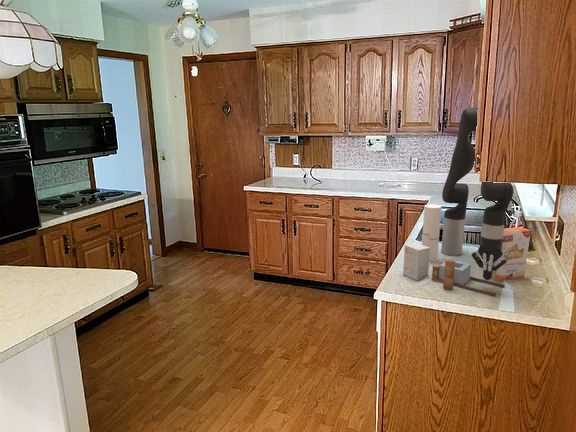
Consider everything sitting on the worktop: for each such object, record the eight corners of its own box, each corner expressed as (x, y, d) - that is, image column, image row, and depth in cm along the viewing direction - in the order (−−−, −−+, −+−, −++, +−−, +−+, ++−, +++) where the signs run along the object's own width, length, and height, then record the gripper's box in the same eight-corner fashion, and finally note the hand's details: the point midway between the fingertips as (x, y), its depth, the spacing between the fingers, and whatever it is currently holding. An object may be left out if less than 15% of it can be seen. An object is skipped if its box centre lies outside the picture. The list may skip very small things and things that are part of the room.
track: (442, 274, 185) (444, 258, 183) (504, 290, 170) (506, 272, 168) (431, 282, 177) (432, 266, 175) (494, 299, 162) (497, 281, 160)
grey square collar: (447, 274, 183) (448, 259, 181) (469, 279, 177) (471, 264, 175) (438, 280, 176) (439, 265, 175) (460, 286, 170) (462, 270, 169)
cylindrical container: (424, 256, 208) (428, 203, 201) (439, 259, 203) (444, 205, 197) (418, 260, 202) (421, 206, 196) (433, 263, 198) (437, 208, 192)
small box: (428, 277, 182) (430, 247, 179) (416, 281, 179) (418, 250, 176) (413, 271, 189) (415, 242, 186) (402, 274, 186) (404, 244, 183)
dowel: (445, 288, 172) (447, 259, 169) (453, 290, 170) (456, 261, 167) (441, 291, 169) (444, 261, 166) (450, 293, 167) (453, 263, 164)
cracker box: (495, 284, 176) (501, 233, 170) (485, 278, 181) (490, 228, 176) (525, 280, 179) (531, 230, 174) (513, 274, 185) (520, 226, 180)
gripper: (514, 236, 162) (508, 280, 167) (477, 229, 170) (472, 272, 175) (508, 241, 157) (502, 287, 161) (469, 234, 165) (465, 277, 170)
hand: (486, 279), depth 168 cm, fingers closed
